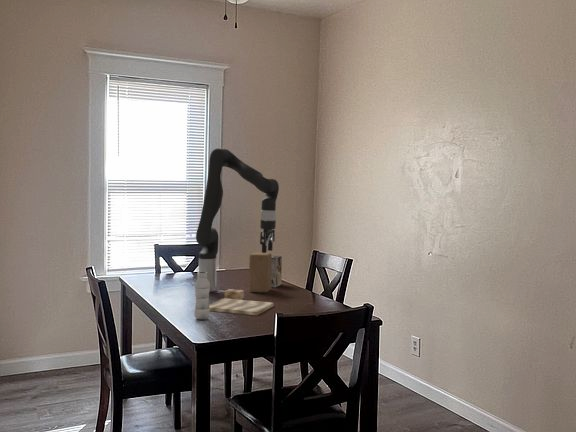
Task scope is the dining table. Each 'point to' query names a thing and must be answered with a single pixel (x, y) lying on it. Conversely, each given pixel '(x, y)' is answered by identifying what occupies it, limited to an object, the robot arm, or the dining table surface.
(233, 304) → the board
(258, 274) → the wooden block
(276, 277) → the coffee box
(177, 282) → the dining table surface
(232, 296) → the block
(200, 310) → the plastic bottle
